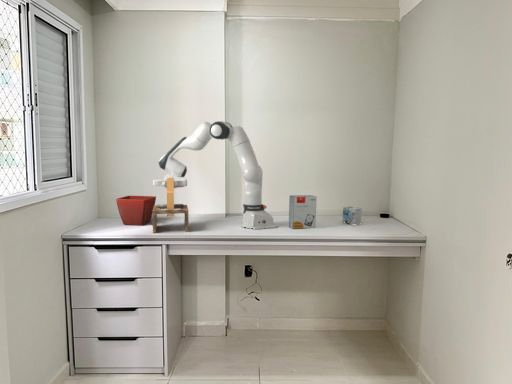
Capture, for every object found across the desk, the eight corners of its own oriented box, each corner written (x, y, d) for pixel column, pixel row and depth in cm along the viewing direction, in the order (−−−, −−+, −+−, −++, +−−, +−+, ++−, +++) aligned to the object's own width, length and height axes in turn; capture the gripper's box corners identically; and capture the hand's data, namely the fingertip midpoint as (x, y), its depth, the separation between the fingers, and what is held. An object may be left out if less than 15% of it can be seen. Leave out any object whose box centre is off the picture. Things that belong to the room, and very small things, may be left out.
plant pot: (157, 221, 248) (156, 195, 246) (145, 226, 229) (145, 199, 227) (129, 220, 250) (128, 195, 248) (116, 225, 231) (115, 199, 229)
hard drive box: (292, 229, 227) (293, 196, 225) (288, 226, 235) (288, 195, 232) (316, 228, 231) (316, 196, 229) (311, 225, 239) (311, 194, 236)
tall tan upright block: (173, 212, 229) (173, 177, 227) (174, 216, 218) (173, 178, 215) (167, 212, 228) (166, 177, 226) (166, 216, 217) (166, 178, 214)
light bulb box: (342, 222, 249) (342, 206, 248) (348, 221, 253) (349, 206, 252) (355, 225, 241) (355, 209, 240) (361, 224, 245) (362, 208, 244)
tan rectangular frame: (187, 225, 236) (186, 201, 234) (188, 231, 216) (188, 206, 215) (154, 226, 231) (153, 202, 230) (152, 233, 212) (152, 207, 210)
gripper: (152, 176, 231) (151, 178, 217) (186, 176, 235) (187, 178, 222) (153, 186, 231) (152, 189, 218) (186, 186, 236) (187, 189, 223)
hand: (170, 183), depth 220 cm, fingers closed on tall tan upright block, 4 cm apart
